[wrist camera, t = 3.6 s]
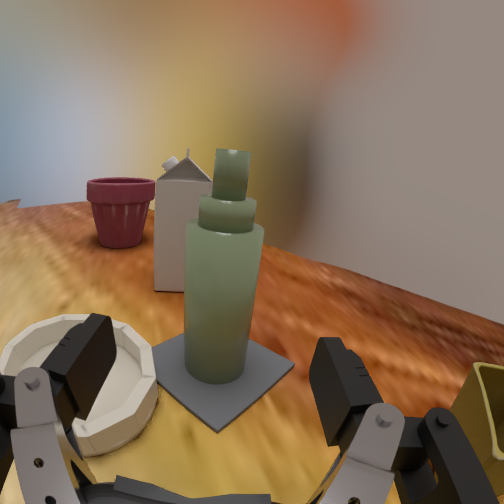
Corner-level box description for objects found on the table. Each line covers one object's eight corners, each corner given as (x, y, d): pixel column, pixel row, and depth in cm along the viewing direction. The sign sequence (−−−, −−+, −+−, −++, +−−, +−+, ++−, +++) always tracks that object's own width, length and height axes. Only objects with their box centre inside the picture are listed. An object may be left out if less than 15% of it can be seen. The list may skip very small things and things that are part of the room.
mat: (217, 433, 17) (217, 430, 17) (133, 358, 23) (133, 356, 23) (294, 366, 25) (295, 363, 25) (213, 321, 31) (213, 318, 31)
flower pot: (490, 516, 5) (572, 446, 2) (407, 523, 8) (497, 457, 5) (486, 443, 13) (541, 371, 10) (416, 438, 16) (472, 359, 13)
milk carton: (202, 272, 44) (213, 151, 38) (205, 293, 38) (217, 150, 31) (158, 270, 42) (164, 148, 36) (154, 292, 36) (158, 147, 30)
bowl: (43, 482, 8) (23, 463, 7) (-1, 361, 16) (-12, 337, 15) (193, 404, 19) (192, 380, 18) (109, 323, 27) (105, 300, 26)
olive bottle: (215, 394, 20) (238, 148, 14) (172, 360, 23) (176, 146, 17) (256, 364, 25) (289, 157, 19) (214, 337, 28) (230, 151, 22)
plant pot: (146, 230, 62) (148, 176, 58) (160, 250, 51) (162, 183, 47) (88, 234, 55) (88, 177, 50) (87, 255, 43) (85, 184, 39)
